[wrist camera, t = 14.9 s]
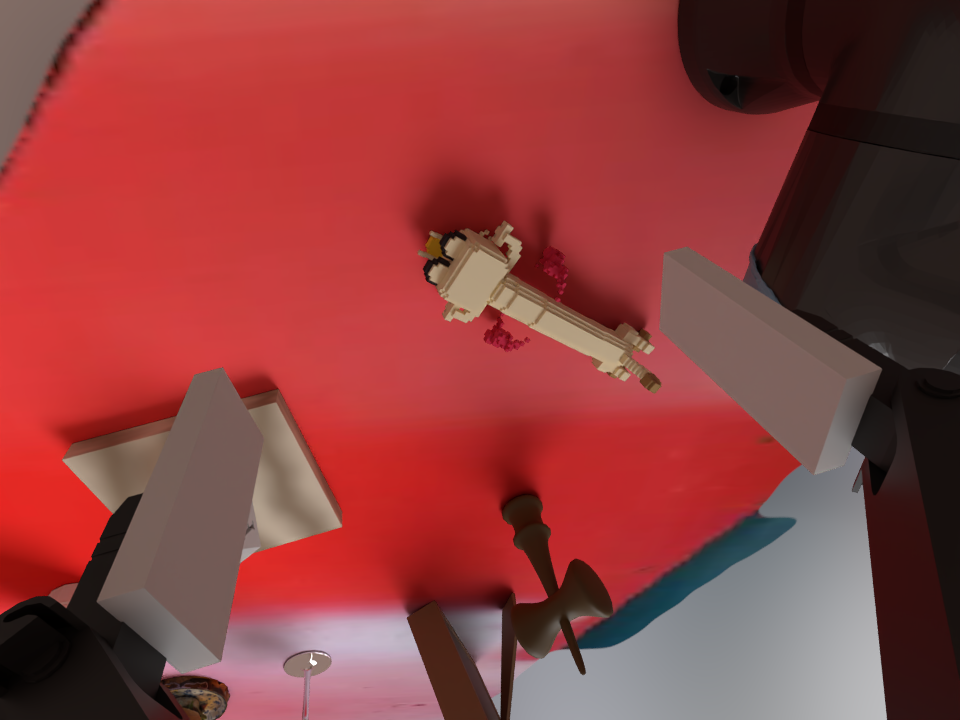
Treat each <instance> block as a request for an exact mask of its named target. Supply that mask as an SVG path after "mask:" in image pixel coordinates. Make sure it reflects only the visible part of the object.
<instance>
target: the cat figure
mask: <svg viewBox="0 0 960 720" xmlns="http://www.w3.org/2000/svg"><path fill="white" fill-rule="evenodd" d="M512 230H513V227H512V226H511V225H510V224H509V223H508V222H506V221H503V223H502V224H501V226H498V227H497V229H496V230H495V234H494V236H493V237H491V236H489V237H488V239H486V238H484V237H483V236H484V235H485V234H486V235H488V234H489V233H490V232H489V231H488V230H485V231H484V232H482V231H480V233H479V234H477V233H475V232H474V231H472V230H470V229H469V228H468V229H467V228H466V229H465V231H464V230H460V232H459V231H457V230H455V232H454V233H453V232H451V231H450V233H449V234H446V233H445V234H444V235H443V236H442V235H441V234H439V233H437V232H436V233H435V232H434V231H432V230H431V231H430V232H429V234H430V235H431V236H430V238H429V240H428V241H427V243H426V245H425V246H426V248H427V252H428V253H427V252H423V251H421V250H419V251H418V252H417V253H418V255H420V256H422V257H426V258H428V259H430V260H428V261H427V263H426V264H425V266H424V268H423V270H424V272H425V273H424V274H425V277H426V278H425V279H426V281H427V282H429V283H431V284H433V285H435V286H436V288H437V290H438V293H439V295H440V296H441V297H443V298H444V299H445V300H447V301H448V303H447V304H446V306H445V308H446V309H445V310H444V312H443V313H442V315H443V317H444V319H445V320H447V321H450V322H451V320H452V319H453V317H454V318H456V319H458V320H460V321H463V322H465V323H467V322H468V320H469V321H472V320H473V319H474V317H475V316H476V317H479V315H480V314H481V312H482V311H483V309H484V308H485V307H486V305H487V304H488V305H490V306H492V307H494V308H496V309H498V310H500V311H501V312H502V313H501V314H500V315H501V316H503V315H504V314H506V315H508V316H510V317H512V318H514V319H516V320H518V321H520V322H522V323H524V324H526V325H528V326H529V327H530V328H532V329H534V330H536V331H538V332H540V333H542V334H544V335H546V336H548V337H550V338H553V339H555V340H557V341H559V342H561V343H563V344H565V345H567V346H569V347H571V348H573V349H575V350H577V351H579V352H581V353H583V354H585V355H587V356H588V355H589V356H592V357H593V358H592V360H593V361H592V363H593V365H594V366H595V367H596V368H597V369H598V370H600V371H602V372H604V373H605V372H607V373H608V375H609V376H611V377H613V378H616V377H618V378H619V379H621V380H623V381H626V380H627V379H628V377H629V376H630V375H631V374H630V373H629V372H628V371H627V370H626V369H625V367H626V368H628V369H629V370H630V371H632V372H633V373H634V374H635V375H636V376H638V377H639V378H640V379H641V380H640V383H641V384H642V385H643V386H644V387H645V388H647V389H648V390H649V391H651V392H653V393H656V392H657V391H658V389H659V388H660V387H661V382H660V380H659V379H658V378H657V377H656V376H655V375H654V374H652V373H651V372H650V371H649V370H648V369H646V368H645V367H644V366H642V365H640V364H639V363H638V362H636V361H635V360H634V359H632V358H631V356H632V355H633V353H632V351H633V350H635V351H637V352H639V351H640V350H642V351H643V352H645V353H647V354H650V352H651V351H652V350H653V349H654V348H655V347H654V346H653V345H652V344H651V343H650V342H649V339H650V338H651V337H652V336H651V335H650V334H649V333H648V332H647V331H645V330H644V329H641V330H640V331H639V332H637V331H636V330H635V329H634V328H633V327H631V326H630V325H628V324H626V323H624V324H620V325H619V326H618V328H617V329H616V330H615V331H614V330H612V329H610V328H607V327H605V326H603V325H601V324H599V323H598V322H596V321H594V320H592V319H590V318H587V317H585V316H583V315H582V314H580V313H578V312H576V311H574V310H573V309H571V308H569V307H567V306H565V305H563V304H562V303H560V300H561V299H560V298H559V297H556V298H555V300H554V299H553V298H551V297H549V296H547V295H546V294H545V293H543V292H541V291H540V290H538V289H536V288H534V287H532V286H531V285H529V284H527V283H525V282H523V281H522V280H520V279H519V278H518V277H516V276H514V275H512V274H510V273H509V272H510V271H511V269H512V268H513V266H514V265H515V264H516V262H517V261H518V259H519V258H520V256H521V255H520V254H519V252H520V251H521V249H522V247H521V246H520V245H521V244H522V242H521V241H520V240H518V239H517V238H515V237H513V236H512V235H510V233H511V231H512ZM432 236H433V237H432ZM492 241H493V242H494V243H493V242H492ZM504 242H506V243H508V248H509V250H508V252H507V253H506V255H507V256H508V257H507V259H506V257H505V256H504V255H503V254H502V252H501V251H500V250H499V249H498V247H497V246H499V247H501V246H502V245H503V243H504ZM495 244H496V245H497V246H496V245H495ZM542 254H543V255H544V256H543V257H544V258H543V259H542V258H541V259H540V260H539V261H540V262H541V264H542V265H543V266H544V269H543V271H544V272H546V273H547V274H548V275H550V276H553V277H554V278H556V279H557V278H558V279H557V282H558V283H557V284H556V287H558V288H559V290H558V293H559V294H561V295H562V294H563V293H564V292H563V289H564V287H565V286H566V285H567V284H566V283H565V282H564V280H565V279H566V277H567V276H568V274H567V272H568V271H569V270H568V269H567V268H566V267H565V266H564V265H563V263H564V262H565V261H564V260H563V259H564V258H565V257H566V256H565V255H564V254H563V253H561V252H560V251H558V250H557V249H555V248H553V247H551V246H549V248H547V247H546V248H545V250H544V251H543V253H542ZM431 260H432V261H431ZM535 267H537V268H538V267H539V264H536V265H535ZM460 307H462V308H464V310H463V311H461V310H459V308H460ZM497 321H498V322H497V323H496V325H497V326H496V325H494V326H493V329H492V330H489V329H488V330H487V331H486V332H485V334H484V335H485V337H484V338H483V339H484V341H485V342H486V343H488V344H492V345H493V346H495V347H497V348H499V346H500V347H501V348H503V349H504V350H505V351H506V352H508V351H512V349H513V348H514V349H516V350H518V348H519V347H520V346H523V345H524V344H525V343H524V342H523V341H520V342H519V341H518V340H515V341H514V342H513V341H511V340H512V339H513V337H512V335H511V334H510V332H508V331H507V332H506V331H505V330H504V329H502V328H501V327H502V326H503V325H504V323H503V321H502V319H501V318H498V319H497ZM524 340H525V342H527V343H528V342H529V341H530V339H529V338H527V337H526V338H525V339H524Z"/></svg>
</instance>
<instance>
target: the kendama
mask: <svg viewBox="0 0 960 720" xmlns="http://www.w3.org/2000/svg"><path fill="white" fill-rule="evenodd" d="M542 510H543V506H542V502H541V501H540V499H539V498H538V497H535V496H533V495H522V496H518V497H516V498H514V499H512V500H511V501H509V503H508V504H507V505H506V506H505V507H504V509H503V511H502V516H503V519H504V520H505V521H506V522H507V523H508V524H510V525H512V526H513V528H514V530H515V536H514V538H513V542H514V545H515V546H516V547H517V548H518V549H520V550H523V551H524V552H525V553H526V555H527V556H528V558H529V560H530V561H531V563H532V565H533V567H534V569H535V571H536V573H537V574H538V576H539V578H540V580H541V582H542V585H543V587H544V589H545V591H546V593H547V595H548V598H547V599H546V600H544V601H542V602H539V603H519V604H516V605H514V606H513V607H512V608H511V612H510V618H511V623H512V628H513V631H514V633H515V636H516V638H517V639H518V641H519V643H520V645H521V646H522V647H523V648H524V649H525V650H526V652H527V653H528V654H530V655H531V656H533V657H535V658H544V657H545V656H546V655H547V654H548V653H549V651H550V649H551V647H552V645H553V642H554V640H555V638H556V636H557V634H558V632H559V631H560V630H561V629H562V631H563V634H564V636H565V638H566V641H567V643H568V646H569V648H570V651H571V653H572V656H573V658H574V660H575V663H576V665H577V667H578V669H579V671H580V673H581V674H582V675H585V673H586V671H585V666H584V662H583V659H582V656H581V653H580V650H579V647H578V644H577V642H576V639H575V636H574V633H573V630H572V627H571V624H570V621H571V620H573V619H575V618H577V617H579V616H595V617H610V616H611V615H612V613H613V607H612V601H611V599H610V596H609V594H608V592H607V590H606V588H605V586H604V584H603V583H602V581H601V580H600V578H599V577H598V575H597V574H596V573H595V572H594V571H593V569H592V568H591V567H590V566H589V565H587V564H586V563H585V562H583V561H581V560H579V559H574V560H573V561H571V562H570V564H569V566H568V569H567V572H566V575H565V578H564V581H563V583H562V585H561V587H560V589H559V588H558V585H557V581H556V578H555V574H554V570H553V566H552V562H551V558H550V553H549V548H548V539H549V537H550V535H551V530H550V528H549V527H548V526H547V525H546V524H543V522H542V519H541V512H542Z"/></svg>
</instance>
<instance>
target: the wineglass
mask: <svg viewBox="0 0 960 720" xmlns="http://www.w3.org/2000/svg"><path fill="white" fill-rule="evenodd" d="M331 662H332V660H331V657H330V656H329V655H328V654H326V653H323V652H318V651H310V652H304V653H300V654H297V655H295V656H293V657H291V658H290V659H288V660H287V661H286V663H285V665H284V670H285V672H286V673H287V674H288V675H291V676H294V677H304V696H303V712H302V720H309V696H310V680H311V676H314V675H317V674H320V673H322V672H324V671H325V670H327V669H328V668H329V667H330V665H331Z"/></svg>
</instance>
